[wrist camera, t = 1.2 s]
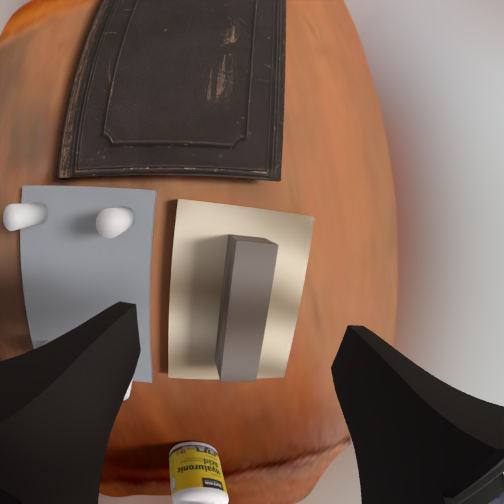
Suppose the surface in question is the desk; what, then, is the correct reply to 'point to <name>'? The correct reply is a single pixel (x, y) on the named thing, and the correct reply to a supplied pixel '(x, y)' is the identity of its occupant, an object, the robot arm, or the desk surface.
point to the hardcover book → (178, 91)
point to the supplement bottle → (196, 475)
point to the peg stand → (85, 258)
